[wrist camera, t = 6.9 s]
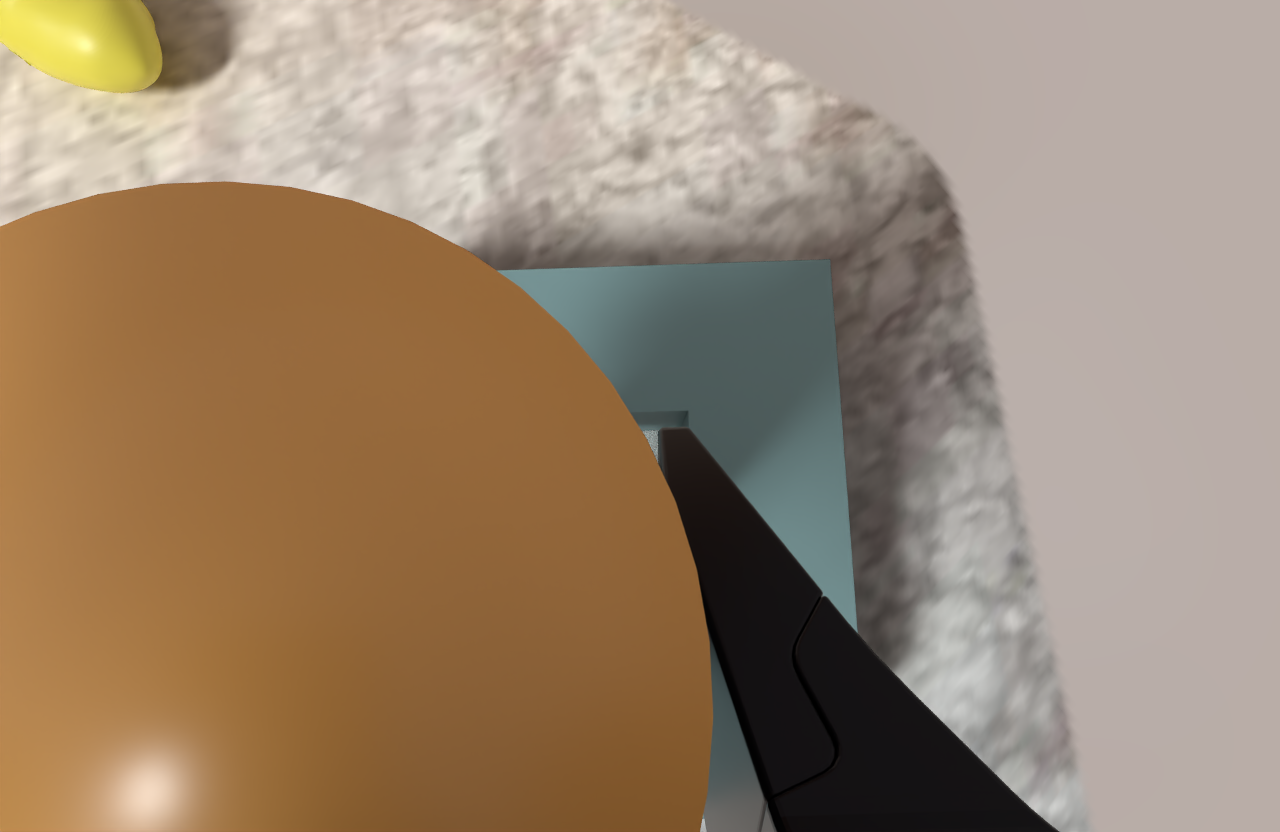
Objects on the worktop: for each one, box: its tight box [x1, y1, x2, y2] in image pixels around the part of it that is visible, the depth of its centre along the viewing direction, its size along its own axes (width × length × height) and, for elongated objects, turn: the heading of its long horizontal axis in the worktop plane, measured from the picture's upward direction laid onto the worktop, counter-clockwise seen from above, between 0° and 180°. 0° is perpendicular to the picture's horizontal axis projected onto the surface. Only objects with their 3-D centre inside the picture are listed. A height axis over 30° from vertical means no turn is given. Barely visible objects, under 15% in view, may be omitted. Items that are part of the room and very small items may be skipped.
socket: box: [496, 259, 858, 819], centre depth 19 cm, size 14×14×4 cm
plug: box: [0, 182, 713, 832], centre depth 9 cm, size 4×4×13 cm
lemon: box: [0, 0, 163, 93], centre depth 22 cm, size 4×8×4 cm, turn 50°
